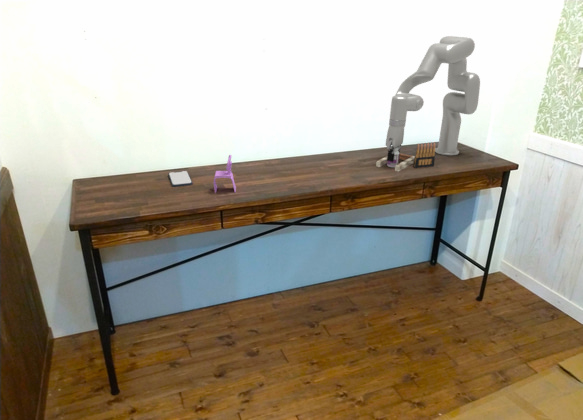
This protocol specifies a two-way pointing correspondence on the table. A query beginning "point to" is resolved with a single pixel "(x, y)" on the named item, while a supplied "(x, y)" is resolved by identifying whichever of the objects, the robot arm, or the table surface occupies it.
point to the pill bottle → (396, 158)
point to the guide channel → (400, 166)
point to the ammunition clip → (424, 156)
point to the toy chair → (225, 174)
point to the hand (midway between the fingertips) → (393, 159)
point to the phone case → (180, 178)
